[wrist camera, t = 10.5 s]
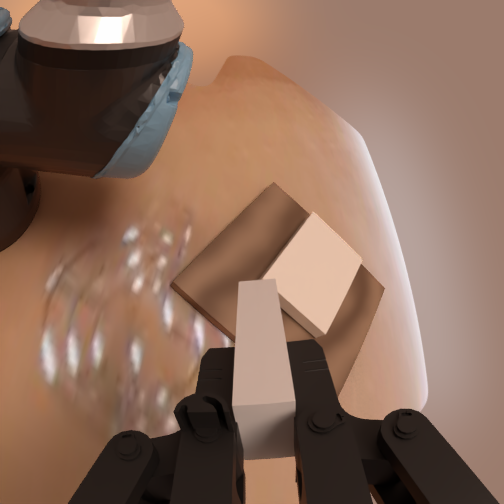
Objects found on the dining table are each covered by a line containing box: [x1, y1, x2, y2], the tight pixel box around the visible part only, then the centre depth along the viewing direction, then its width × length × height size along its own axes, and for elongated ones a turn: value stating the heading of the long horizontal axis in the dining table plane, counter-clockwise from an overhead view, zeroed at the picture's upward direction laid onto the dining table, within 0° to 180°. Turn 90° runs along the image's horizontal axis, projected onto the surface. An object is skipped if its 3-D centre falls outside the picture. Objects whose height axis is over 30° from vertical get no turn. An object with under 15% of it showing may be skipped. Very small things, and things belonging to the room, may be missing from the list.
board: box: [171, 182, 385, 397], centre depth 40 cm, size 24×22×2 cm
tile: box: [259, 212, 363, 338], centre depth 40 cm, size 10×2×14 cm
